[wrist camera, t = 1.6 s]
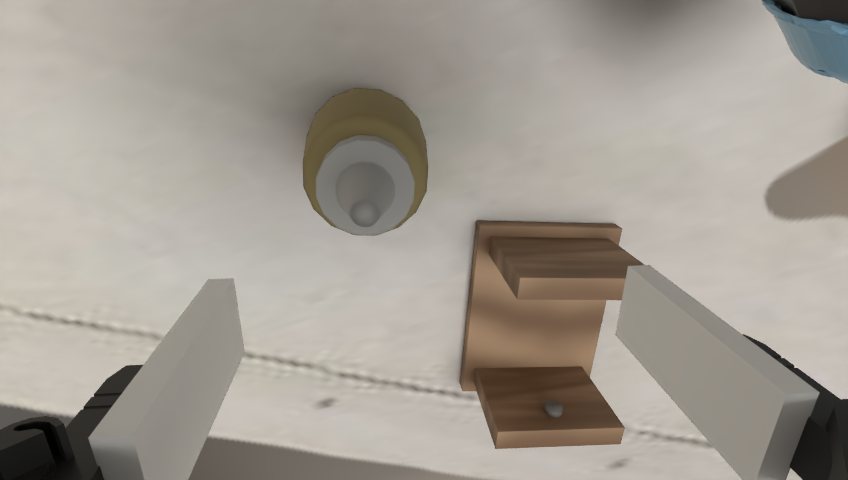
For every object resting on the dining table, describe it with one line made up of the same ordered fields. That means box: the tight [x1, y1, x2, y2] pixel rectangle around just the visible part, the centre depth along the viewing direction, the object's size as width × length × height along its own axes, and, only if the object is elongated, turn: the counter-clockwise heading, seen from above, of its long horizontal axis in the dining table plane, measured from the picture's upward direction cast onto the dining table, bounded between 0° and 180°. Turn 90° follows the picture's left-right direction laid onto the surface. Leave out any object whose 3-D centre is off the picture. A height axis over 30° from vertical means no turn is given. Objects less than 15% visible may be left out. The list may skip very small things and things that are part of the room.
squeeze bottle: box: [303, 88, 428, 236], centre depth 27 cm, size 8×8×18 cm
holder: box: [460, 221, 644, 449], centre depth 37 cm, size 16×12×9 cm
